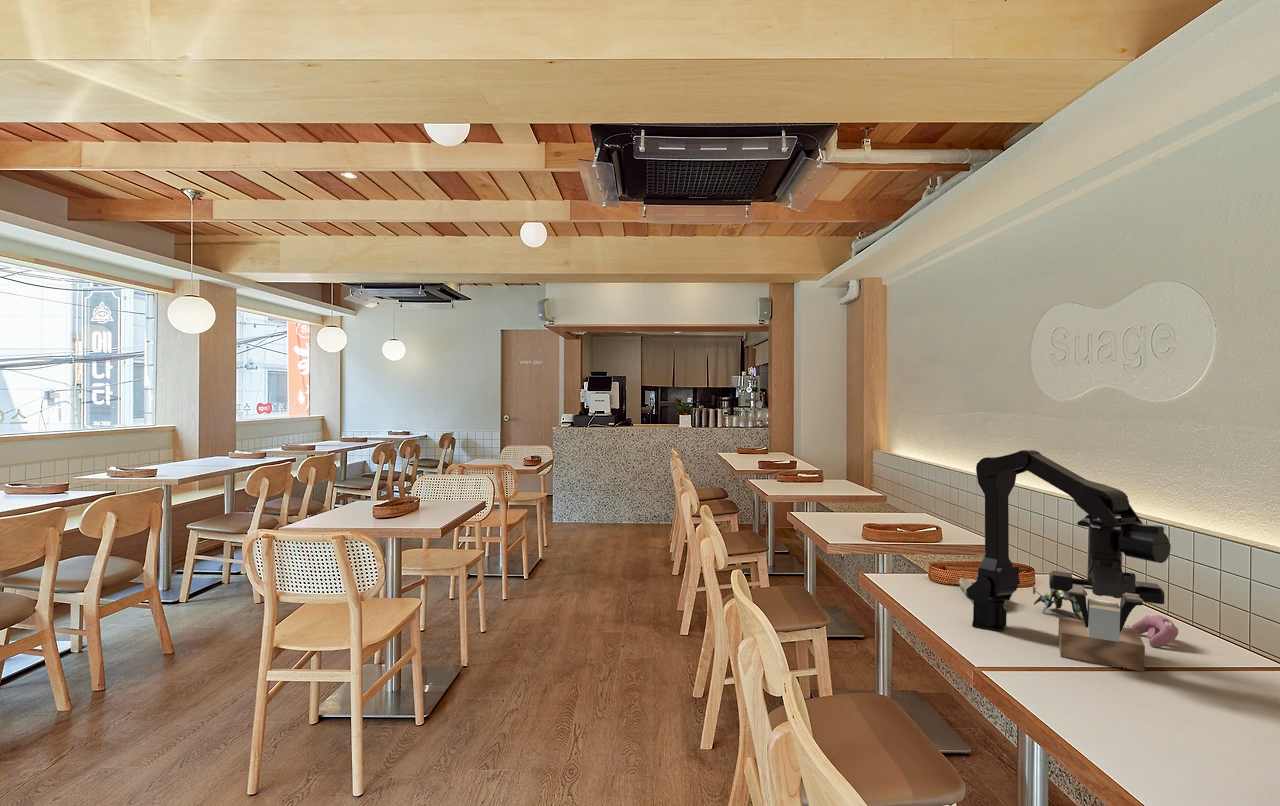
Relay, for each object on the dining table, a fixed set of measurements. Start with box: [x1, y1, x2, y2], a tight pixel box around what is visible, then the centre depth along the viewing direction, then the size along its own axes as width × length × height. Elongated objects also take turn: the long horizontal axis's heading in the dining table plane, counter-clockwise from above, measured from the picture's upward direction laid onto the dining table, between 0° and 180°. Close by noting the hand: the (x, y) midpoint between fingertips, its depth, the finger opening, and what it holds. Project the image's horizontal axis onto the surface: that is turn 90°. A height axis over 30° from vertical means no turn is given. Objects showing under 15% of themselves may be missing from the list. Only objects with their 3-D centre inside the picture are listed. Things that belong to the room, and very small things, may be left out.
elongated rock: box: [956, 578, 1008, 607], centre depth 188 cm, size 35×5×10 cm
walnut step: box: [1057, 617, 1146, 673], centre depth 142 cm, size 14×12×5 cm
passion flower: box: [1032, 586, 1088, 620], centre depth 170 cm, size 11×11×12 cm
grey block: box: [1086, 598, 1120, 642], centre depth 136 cm, size 5×5×6 cm
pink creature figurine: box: [1129, 613, 1179, 648], centre depth 152 cm, size 10×5×7 cm, turn 169°
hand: (1102, 629), depth 136 cm, fingers closed on grey block, 5 cm apart
